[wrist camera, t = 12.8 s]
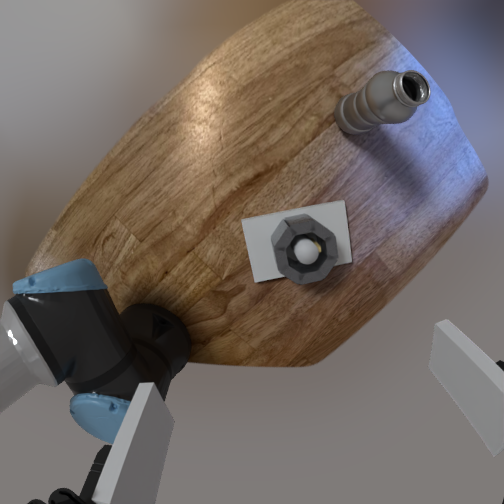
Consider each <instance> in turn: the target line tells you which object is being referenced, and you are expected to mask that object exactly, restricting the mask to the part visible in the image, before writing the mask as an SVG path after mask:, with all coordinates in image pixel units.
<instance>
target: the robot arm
mask: <svg viewBox="0 0 504 504" xmlns="http://www.w3.org/2000/svg"><path fill="white" fill-rule="evenodd" d="M107 288H108V287H107V285H106V284H104V282H103V280H102V278H101V276H100V274H99V272H98V270H97V268H96V266H95V265H94V263H93V262H91V261H90V260H88V259H77V260H74V261H71V262H68V263H65V264H62V265H59V266H56V267H53V268H50V269H47V270H44V271H42V272H39V273H36V274H33V275H31V276H28V277H26V278H23V279H21V280H18V281H16V282H14V283H13V292H14V294H16V295H15V296H14V297H12V298H11V299H9V300H7V301H6V302H5V303H4V307H3V312H2V317H1V319H0V413H1V412H3V411H4V410H5V409H6V408H8V407H9V406H10V405H12V404H13V403H14V402H16V401H17V400H18V399H19V398H21V397H22V396H23V395H25V394H26V393H27V392H28V391H30V390H31V389H32V388H34V387H35V386H36V385H38V384H45V385H49V386H53V387H56V386H57V385H59V384H60V383H62V382H63V381H64V380H65V382H66V383H67V385H68V386H69V388H70V389H71V390H72V392H73V393H74V396H73V397H72V398H71V400H70V413H71V415H72V417H73V418H74V420H75V421H76V422H77V423H78V425H79V426H81V427H82V428H83V429H84V430H85V431H87V432H88V433H90V434H91V435H93V436H94V437H96V438H98V439H100V440H103V441H106V442H108V443H111V444H113V445H104V447H103V448H102V449H101V450H100V451H99V452H98V453H97V455H96V458H95V460H94V464H93V465H92V467H91V469H90V470H91V471H90V472H89V474H88V476H87V479H86V481H85V484H84V486H83V488H82V491H81V493H80V496H77V495H76V494H75V493H74V492H73V491H71V490H70V489H67V488H60V489H57V490H55V491H54V492H53V493H52V494H51V495H50V498H49V501H48V502H49V504H155V501H156V497H157V492H158V488H159V483H160V479H161V475H162V471H163V466H164V462H165V458H166V454H167V450H168V445H169V442H170V437H171V434H172V430H173V426H174V422H175V421H174V419H173V417H172V416H171V414H170V412H169V410H168V408H167V407H166V405H165V403H164V401H165V398H166V395H167V391H168V388H169V385H170V382H171V380H172V379H173V378H174V377H175V376H176V374H177V373H179V372H180V371H181V370H182V369H183V368H184V367H185V365H186V363H187V361H188V359H189V355H190V352H191V339H190V335H189V333H188V331H187V329H186V327H185V326H184V324H183V323H182V322H181V321H180V319H179V318H178V317H176V316H175V315H174V314H173V313H171V312H170V311H168V310H166V309H164V308H162V307H160V306H157V305H153V304H145V303H143V304H135V305H132V306H129V307H128V308H126V309H125V310H123V311H122V312H121V313H120V315H119V313H118V311H117V309H116V307H115V305H114V303H113V301H112V299H111V296H110V294H109V292H108V290H107ZM429 369H430V370H431V372H432V373H433V374H434V375H435V377H436V378H437V379H438V381H439V382H440V383H441V384H442V386H443V387H444V388H445V390H446V391H447V392H448V394H449V395H450V396H451V398H452V399H453V400H454V402H455V403H456V404H457V406H458V407H459V408H460V410H461V411H462V412H463V414H464V415H465V416H466V418H467V419H468V421H469V422H470V424H471V425H472V426H473V428H474V429H475V430H476V432H477V433H478V435H479V436H480V438H481V439H482V441H483V442H484V444H485V445H486V446H487V448H488V449H489V451H490V453H491V454H492V455H493V457H494V456H496V455H497V454H499V453H500V452H501V451H502V450H504V362H503V361H501V360H500V361H498V362H496V363H495V362H494V361H493V360H491V359H490V358H489V357H488V356H487V355H486V354H485V353H484V352H483V351H482V350H481V349H480V348H479V347H478V346H477V345H476V344H474V343H473V342H472V341H471V340H470V339H469V338H468V337H467V336H466V335H464V333H462V332H461V331H460V330H459V329H458V328H457V327H456V326H455V325H454V324H452V323H451V322H450V321H449V320H448V319H446V320H443V321H441V322H438V323H435V327H434V336H433V343H432V350H431V356H430V363H429ZM28 504H46V503H44V502H43V501H41V500H38V499H35V500H32V501H30V502H29V503H28ZM502 504H504V499H503V503H502Z"/></svg>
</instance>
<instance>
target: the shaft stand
mask: <svg viewBox="0 0 504 504" xmlns="http://www.w3.org/2000/svg"><path fill="white" fill-rule="evenodd" d="M300 214H306V215H307V214H308V215H309V216H311V217H312V218H314V219H315V220H317V221H318V222H319V223H321V224H322V225H324V226H325V227H326V228H328V229H329V230H330V231H331V232H333V233H334V235H335V236H336V242H337V250H338V258H337V260H338V261H337V262H336V264H335V265H334V266H336V265H341V264H345V263H350V262H352V258H351V248H350V239H349V231H348V223H347V216H346V208H345V202H344V201H343V200H340V201H334V202H328V203H323V204H318V205H312V206H307V207H302V208H296V209H291V210H286V211H281V212H276V213H271V214H266V215H261V216H256V217H251V218H246V219H242V220H241V221H242V226H243V230H244V235H245V240H246V244H247V249H248V253H249V258H250V262H251V267H252V272H253V276H254V281H255V282H260V281H265V280H270V279H275V278H280V277H285V276H284V275H282V274H281V273H279V271H278V269H277V265H276V262H275V258H274V254H273V249H272V244H271V235H272V234H273V232H274V231H275V229H276V228H277V226H278V225H279V223H280V222H281V221H282V219H284V220H285V217H290V216H295V215H300ZM319 252H321V246H320V245H319V244H318V243H317V237H316V234H315V233H313V232H310V233H305V234H300V235H295V237H294V238H293V240H292V241H291V242H290V244H289V245H288V247H287V248H286V254H287V256H288V257H290V258H292V259H293V260H295V261H297V260H299V261H300V262H301V263H303V264H311V263H313V262H315V261H316V259H317V258H318V255H319Z"/></svg>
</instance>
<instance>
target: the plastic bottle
mask: <svg viewBox="0 0 504 504" xmlns="http://www.w3.org/2000/svg"><path fill="white" fill-rule="evenodd" d="M429 97H430V86H429V84H428V81H427V80H426V78H425V77H424V76H423V75H422V74H421V73H419V72H417V71H414V70H408V71H405V72H403V73H399V72H396V71H381V72H378V73H377V74H375V75H374V76H373V77H372V78H371V79H370V80H369V81H368V82H367V84H366V85H365V86H364V87H363V88H362V89H361V90H360V91H357V92H355V93H351V94H347V95H345V96H343V97H342V98H341V99H340V100H339V101H338V103H337V105H336V107H335V111H334V117H335V121H336V123H337V125H338V126H339V127H340V128H341V129H342V130H343V131H344V132H346V133H349V134H353V135H362V134H365V133H367V132H368V131H370V130H371V129H372V128H373V127H375V126H377V125H380V124H398V123H403V122H406V121H407V120H409V119H410V118H411V117H412V116H413V114H414V113H415V112H416V110H417V106H419V105H420V104H423V103H425V102H426V101H427V100H428V99H429Z"/></svg>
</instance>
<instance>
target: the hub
mask: <svg viewBox="0 0 504 504" xmlns="http://www.w3.org/2000/svg"><path fill="white" fill-rule="evenodd" d="M310 232H313V233H315V234H316V237H317V243H318V244H319V245H320V246H321V252H319V255H318V258H317V259H316V261H315V262H313V263H311V264H303V263H301V262H300V261H299V260H297V261H295V260H293V259H292V258H290V257H288V256H287V254H286V248H287V247H288V245H289V244H290V242H291V241H292V240H293V238H294V237H295V235H300V234H305V233H310ZM271 244H272V249H273V254H274V258H275V262H276V265H277V269H278V271H279V273H281V274H282V275H284V276H285V277H287V278H289V279H290V280H292V281H293V282H295V283H297V284H299V283H300V285H302V284H307V283H311V282H316V281H320V280H323V279H322V278H324V279H325V277H326V276H327V275H328V273H329V272H330V271H331V269H332V268H333V266H334V265H335V264H336V262H337V261H338V260H337V258H338V250H337V242H336V236H335V235H334V233H333V232H331V231H330V230H329V229H328V228H326V227H325V226H324V225H322V224H321V223H319V222H318V221H317V220H315V219H314V218H312V217H311V216H309V215H308V214H307V215H306V214H300V215H295V216H290V217H285V220H284V219H282V221H281V222H280V223H279V225H278V226H277V228H276V229H275V231H274V232H273V234H272V235H271Z"/></svg>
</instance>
